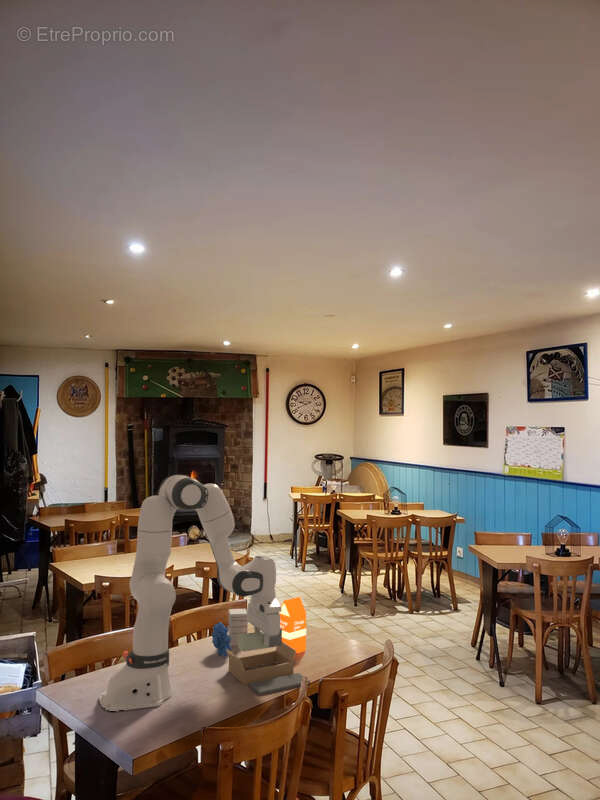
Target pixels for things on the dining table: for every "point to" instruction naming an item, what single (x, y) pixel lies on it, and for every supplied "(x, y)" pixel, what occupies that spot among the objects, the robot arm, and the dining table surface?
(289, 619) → the orange juice
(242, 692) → the dining table surface
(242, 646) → the block
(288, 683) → the rubber mat
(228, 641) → the grapes
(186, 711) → the dining table surface
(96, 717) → the dining table surface
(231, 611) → the supplement box
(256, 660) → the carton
